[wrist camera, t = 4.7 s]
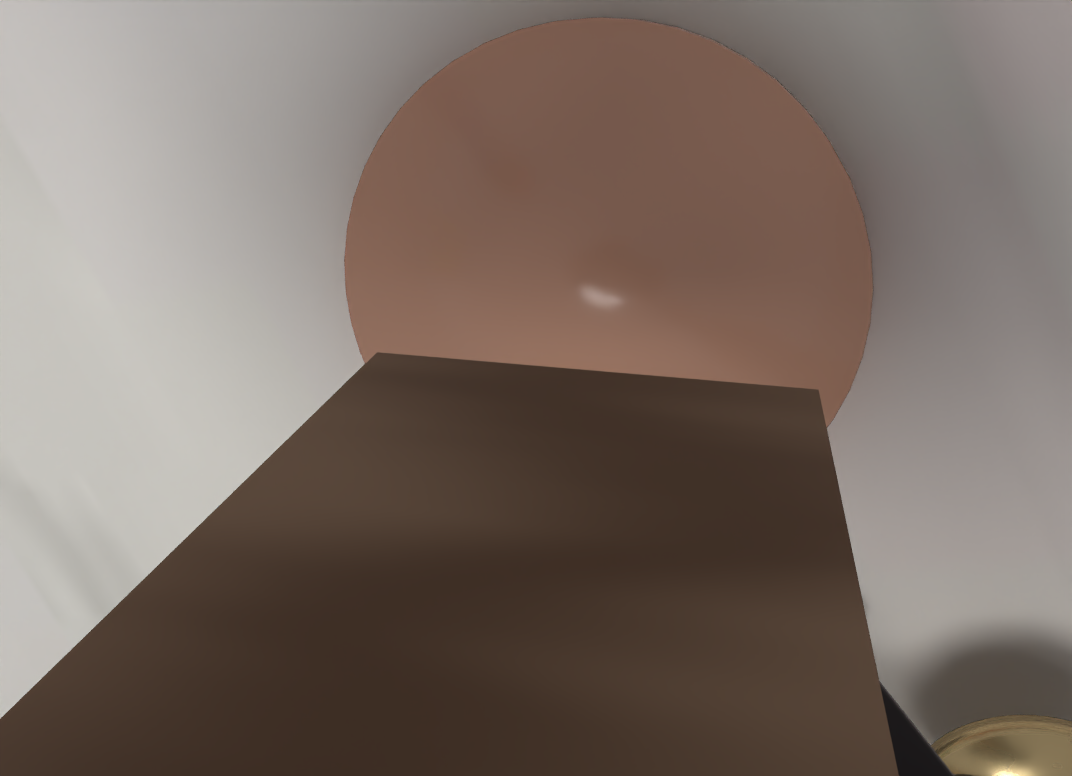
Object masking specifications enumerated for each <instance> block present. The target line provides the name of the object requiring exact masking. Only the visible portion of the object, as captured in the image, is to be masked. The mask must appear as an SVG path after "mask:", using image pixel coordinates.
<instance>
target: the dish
mask: <svg viewBox="0 0 1072 776" xmlns="http://www.w3.org/2000/svg"><path fill="white" fill-rule="evenodd" d="M344 262H345V283H346V295H347V301H348V307H349V313H350V318H351V323H352V327H353V330H354V334H355V337H356V340H357V344H358V347H359V350H360V353H361V355H362V358H363V360H364V362H365V364H366V363H367V362H368V361H369V360H370V359H371V358H372V357H373V356H374V355H375V354H376V353H377V352H381V353H392V354H404V355H416V356H428V357H440V358H452V359H463V360H475V361H487V362H499V363H511V364H523V365H534V366H546V367H558V368H570V369H582V370H594V371H605V372H617V373H629V374H641V375H653V376H665V377H676V378H688V379H700V380H712V381H724V382H736V383H747V384H759V385H771V386H783V387H795V388H806V389H818V390H819V394H820V399H821V404H822V409H823V413H824V418H825V423H826V428H827V427H828V426H829V424H830V423H831V422H832V420H833V419H834V417H835V415H836V414H837V412H838V410H839V408H840V407H841V405H842V403H843V401H844V399H845V398H846V396H847V394H848V392H849V390H850V388H851V386H852V383H853V380H854V378H855V375H856V373H857V370H858V368H859V365H860V362H861V360H862V357H863V353H864V348H865V344H866V340H867V335H868V331H869V327H870V320H871V308H872V296H873V277H872V261H871V249H870V245H869V240H868V235H867V231H866V226H865V221H864V216H863V213H862V210H861V207H860V205H859V202H858V199H857V197H856V194H855V191H854V189H853V186H852V183H851V181H850V178H849V176H848V174H847V173H846V171H845V169H844V167H843V165H842V163H841V162H840V160H839V158H838V156H837V154H836V153H835V151H834V149H833V147H832V145H831V143H830V142H829V140H828V138H827V137H826V135H825V134H824V133H823V131H822V130H821V129H820V127H819V126H818V125H817V123H816V122H815V121H814V119H813V118H812V117H811V116H810V114H809V113H808V112H807V110H806V109H805V108H804V106H803V105H802V104H801V103H800V102H799V101H798V100H797V99H796V98H795V97H794V96H793V95H792V94H791V93H789V92H788V91H787V90H786V89H785V88H784V87H783V86H782V85H781V84H780V83H779V82H778V81H777V80H776V79H775V78H773V77H772V76H771V75H769V74H768V73H767V72H765V71H764V70H763V69H761V68H760V67H758V66H757V65H756V64H754V63H753V62H752V61H750V60H749V59H748V58H746V57H744V56H742V55H740V54H739V53H737V52H735V51H733V50H731V49H729V48H727V47H726V46H724V45H722V44H720V43H718V42H716V41H714V40H712V39H709V38H707V37H704V36H701V35H698V34H695V33H693V32H690V31H687V30H684V29H682V28H679V27H675V26H670V25H665V24H660V23H655V22H651V21H646V20H641V19H624V18H606V17H599V18H585V19H573V20H562V21H554V22H549V23H545V24H541V25H537V26H532V27H528V28H524V29H520V30H517V31H514V32H512V33H509V34H506V35H504V36H501V37H499V38H496V39H494V40H491V41H489V42H486V43H484V44H482V45H480V46H479V47H477V48H475V49H473V50H472V51H470V52H468V53H466V54H465V55H463V56H461V57H459V58H458V59H456V60H454V61H452V62H451V63H450V64H449V65H447V66H446V67H445V68H443V69H442V70H441V71H440V72H438V73H437V74H436V75H434V76H433V77H432V78H431V79H429V80H428V81H427V82H426V83H424V84H423V85H422V86H421V87H420V88H419V90H418V91H417V92H416V93H415V94H414V95H413V96H412V97H411V98H410V99H409V100H408V101H407V102H406V103H405V104H404V105H403V106H402V107H401V108H400V110H399V111H398V112H397V114H396V115H395V117H394V118H393V119H392V121H391V122H390V124H389V125H388V126H387V128H386V129H385V131H384V132H383V133H382V135H381V136H380V138H379V140H378V142H377V144H376V146H375V148H374V150H373V151H372V153H371V155H370V157H369V159H368V161H367V163H366V165H365V167H364V170H363V173H362V175H361V178H360V181H359V184H358V187H357V189H356V192H355V195H354V198H353V203H352V207H351V212H350V217H349V221H348V226H347V235H346V247H345V259H344Z"/></svg>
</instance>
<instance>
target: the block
mask: <svg viewBox="0 0 1072 776" xmlns="http://www.w3.org/2000/svg"><path fill="white" fill-rule="evenodd" d="M0 776H899V774H898V769H897V764H896V760H895V755H894V750H893V745H892V740H891V736H890V731H889V726H888V721H887V716H886V712H885V707H884V702H883V697H882V692H881V687H880V683H879V678H878V673H877V668H876V663H875V659H874V654H873V649H872V644H871V639H870V635H869V630H868V625H867V620H866V615H865V611H864V606H863V601H862V596H861V591H860V587H859V582H858V577H857V572H856V567H855V562H854V558H853V553H852V548H851V543H850V538H849V534H848V529H847V524H846V519H845V514H844V510H843V505H842V500H841V495H840V490H839V486H838V481H837V476H836V471H835V466H834V462H833V457H832V452H831V447H830V442H829V437H828V433H827V428H826V423H825V418H824V413H823V409H822V404H821V399H820V394H819V390H818V389H806V388H795V387H783V386H771V385H759V384H747V383H736V382H724V381H712V380H700V379H688V378H676V377H665V376H653V375H641V374H629V373H617V372H605V371H594V370H582V369H570V368H558V367H546V366H534V365H523V364H511V363H499V362H487V361H475V360H463V359H452V358H440V357H428V356H416V355H404V354H392V353H381V352H377V353H376V354H375V355H374V356H373V357H372V358H371V359H370V360H369V361H368V362H367V363H366V364H365V365H364V366H363V367H361V368H360V369H359V370H358V371H357V372H356V373H355V374H354V375H353V376H352V377H351V378H350V379H349V380H348V381H347V382H346V383H345V384H344V385H343V386H342V387H341V388H340V389H339V390H338V391H337V392H336V393H335V394H334V395H333V396H332V397H331V398H330V399H329V400H328V401H327V402H326V403H325V404H323V405H322V406H321V407H320V408H319V409H318V410H317V411H316V412H315V413H314V414H313V415H312V416H311V417H310V418H309V419H308V420H307V421H306V422H305V423H304V424H303V425H302V426H301V427H300V428H299V429H298V430H297V431H296V432H295V433H294V434H293V435H292V436H291V437H290V438H289V439H288V440H286V441H285V442H284V443H283V444H282V445H281V446H280V447H279V448H278V449H277V450H276V451H275V452H274V453H273V454H272V455H271V456H270V457H269V458H268V459H267V460H266V461H265V462H264V463H263V464H262V465H261V466H260V467H259V468H258V469H257V470H256V471H255V472H254V473H253V474H252V475H251V476H249V477H248V478H247V479H246V480H245V481H244V482H243V483H242V484H241V485H240V486H239V487H238V488H237V489H236V490H235V491H234V492H233V493H232V494H231V495H230V496H229V497H228V498H227V499H226V500H225V501H224V502H223V503H222V504H221V505H220V506H219V507H218V508H217V509H216V510H215V511H214V512H212V513H211V514H210V515H209V516H208V517H207V518H206V519H205V520H204V521H203V522H202V523H201V524H200V525H199V526H198V527H197V528H196V529H195V530H194V531H193V532H192V533H191V534H190V535H189V536H188V537H187V538H186V539H185V540H184V541H183V542H182V543H181V544H180V545H179V546H178V547H177V548H175V549H174V550H173V551H172V552H171V553H170V554H169V555H168V556H167V557H166V558H165V559H164V560H163V561H162V562H161V563H160V564H159V565H158V566H157V567H156V568H155V569H154V570H153V571H152V572H151V573H150V574H149V575H148V576H147V577H146V578H145V579H144V580H143V581H142V582H141V583H140V584H138V585H137V586H136V587H135V588H134V589H133V590H132V591H131V592H130V593H129V594H128V595H127V596H126V597H125V598H124V599H123V600H122V601H121V602H120V603H119V604H118V605H117V606H116V607H115V608H114V609H113V610H112V611H111V612H110V613H109V614H108V615H107V616H106V617H105V618H104V619H103V620H101V621H100V622H99V623H98V624H97V625H96V626H95V627H94V628H93V629H92V630H91V631H90V632H89V633H88V634H87V635H86V636H85V637H84V638H83V639H82V640H81V641H80V642H79V643H78V644H77V645H76V646H75V647H74V648H73V649H72V650H71V651H70V652H69V653H68V654H67V655H66V656H64V657H63V658H62V659H61V660H60V661H59V662H58V663H57V664H56V665H55V666H54V667H53V668H52V669H51V670H50V671H49V672H48V673H47V674H46V675H45V676H44V677H43V678H42V679H41V680H40V681H39V682H38V683H37V684H36V685H35V686H34V687H33V688H32V689H31V690H30V691H29V692H27V693H26V694H25V695H24V696H23V697H22V698H21V699H20V700H19V701H18V702H17V703H16V704H15V705H14V706H13V707H12V708H11V709H10V710H9V711H8V712H7V713H6V714H5V715H4V716H3V717H2V718H1V719H0Z"/></svg>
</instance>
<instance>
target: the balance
mask: <svg viewBox="0 0 1072 776" xmlns="http://www.w3.org/2000/svg"><path fill="white" fill-rule="evenodd" d="M931 747H932V748H933V749H934V750H935V752H936V753H937V754H938V756H939V757H940V758H941V759H942V761H943V762H944V763H945V764H946V766H947V767H948V768H949V769H950V771H951V772H952V773H953V774H954V776H1072V722H1071V721H1067V720H1063V719H1058V718H1053V717H1047V716H1037V715H1008V716H998V717H993V718H987V719H983V720H979V721H976V722H972V723H969V724H967V725H964V726H962V727H959V728H957V729H955V730H953V731H951V732H949V733H947V734H946V735H944V736H943V737H941V738H940V739H938V740H937V741H936V742H934V743H933V744H932V745H931Z"/></svg>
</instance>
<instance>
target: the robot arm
mask: <svg viewBox="0 0 1072 776" xmlns="http://www.w3.org/2000/svg"><path fill="white" fill-rule="evenodd" d="M879 683H880V687H881V692H882V697H883V702H884V707H885V712H886V716H887V721H888V726H889V731H890V736H891V740H892V745H893V750H894V755H895V760H896V764H897V769H898V774H899V776H954V774H953V773H952V772H951V771H950V769H949V768H948V767H947V766H946V764H945V763H944V762H943V761H942V759H941V758H940V757H939V756H938V754H937V753H936V752H935V750H934V749H933V748H932V747H931V745H930V744H929V743H928V742H927V740H926V739H925V738H924V737H923V735H922V734H921V733H920V732H919V730H918V729H917V728H916V727H915V725H914V724H913V723H912V722H911V720H910V719H909V718H908V716H907V715H906V714H905V713H904V711H903V710H902V709H901V708H900V706H899V705H898V704H897V703H896V701H895V700H894V699H893V698H892V696H891V695H890V694H889V693H888V691H887V690H886V689H885V687H884V686H883V685H882V684H881V682H880V681H879Z"/></svg>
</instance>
